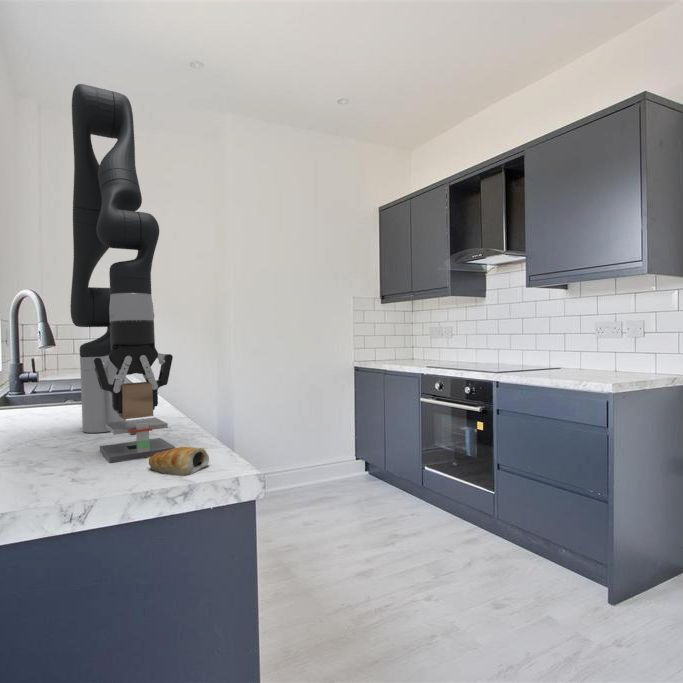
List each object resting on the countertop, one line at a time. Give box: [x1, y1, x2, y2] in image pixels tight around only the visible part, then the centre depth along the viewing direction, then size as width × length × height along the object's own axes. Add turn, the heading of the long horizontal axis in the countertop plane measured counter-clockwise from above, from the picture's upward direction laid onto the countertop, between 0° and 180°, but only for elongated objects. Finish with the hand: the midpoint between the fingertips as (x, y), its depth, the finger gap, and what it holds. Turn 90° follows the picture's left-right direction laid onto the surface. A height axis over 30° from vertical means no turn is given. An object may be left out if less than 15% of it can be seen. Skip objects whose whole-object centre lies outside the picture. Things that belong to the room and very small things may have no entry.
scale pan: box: [105, 416, 169, 436], centre depth 90 cm, size 11×9×2 cm
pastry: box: [148, 446, 210, 476], centre depth 78 cm, size 9×7×4 cm
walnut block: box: [119, 381, 154, 420], centre depth 91 cm, size 5×5×6 cm
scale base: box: [99, 423, 176, 464], centre depth 91 cm, size 11×11×6 cm
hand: (135, 410), depth 91 cm, fingers closed on walnut block, 5 cm apart
